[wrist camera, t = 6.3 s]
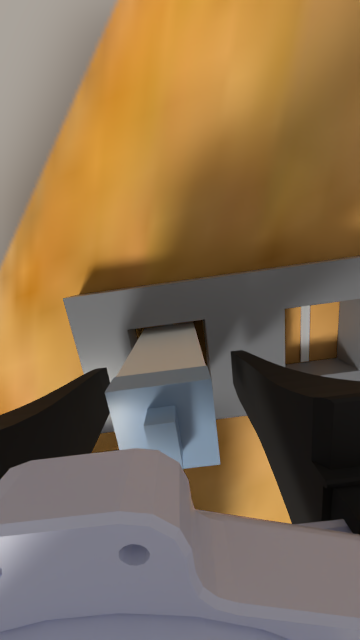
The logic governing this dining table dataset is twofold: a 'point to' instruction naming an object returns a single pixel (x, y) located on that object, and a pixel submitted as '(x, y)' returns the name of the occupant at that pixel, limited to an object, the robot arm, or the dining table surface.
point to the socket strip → (225, 320)
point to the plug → (166, 397)
